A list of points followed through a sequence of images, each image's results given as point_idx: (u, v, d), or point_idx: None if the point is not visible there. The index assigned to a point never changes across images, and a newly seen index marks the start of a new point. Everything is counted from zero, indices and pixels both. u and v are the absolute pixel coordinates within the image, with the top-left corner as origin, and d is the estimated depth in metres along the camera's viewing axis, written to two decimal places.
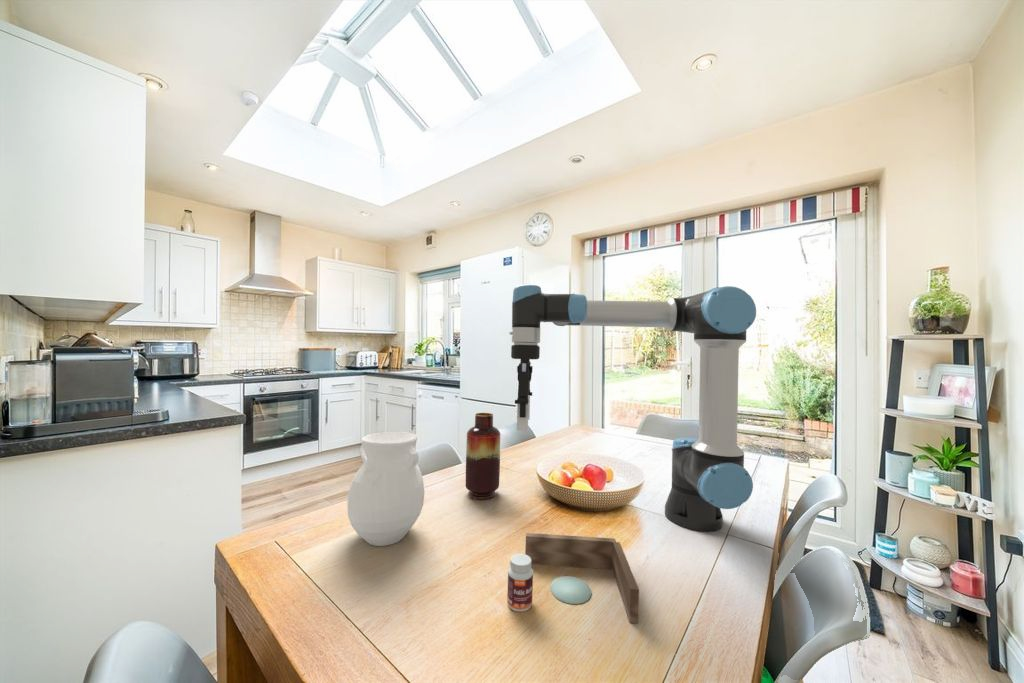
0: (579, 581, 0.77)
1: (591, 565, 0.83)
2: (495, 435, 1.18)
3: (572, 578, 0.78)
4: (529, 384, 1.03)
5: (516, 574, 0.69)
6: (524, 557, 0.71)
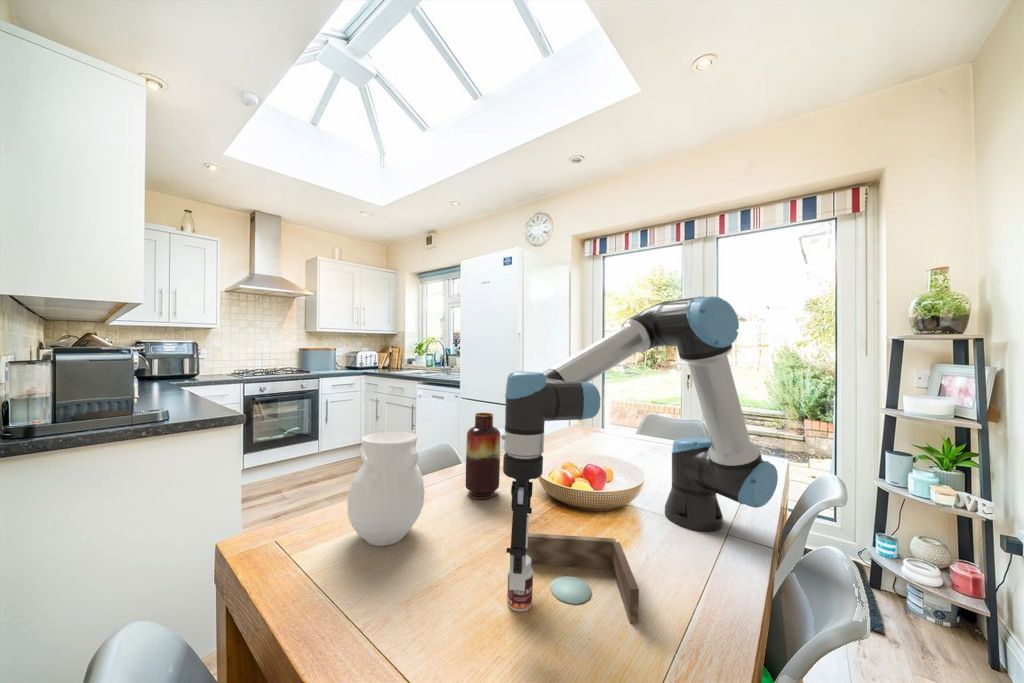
0: (579, 581, 0.77)
1: (591, 565, 0.83)
2: (495, 435, 1.18)
3: (572, 578, 0.78)
4: (528, 502, 0.75)
5: None
6: None
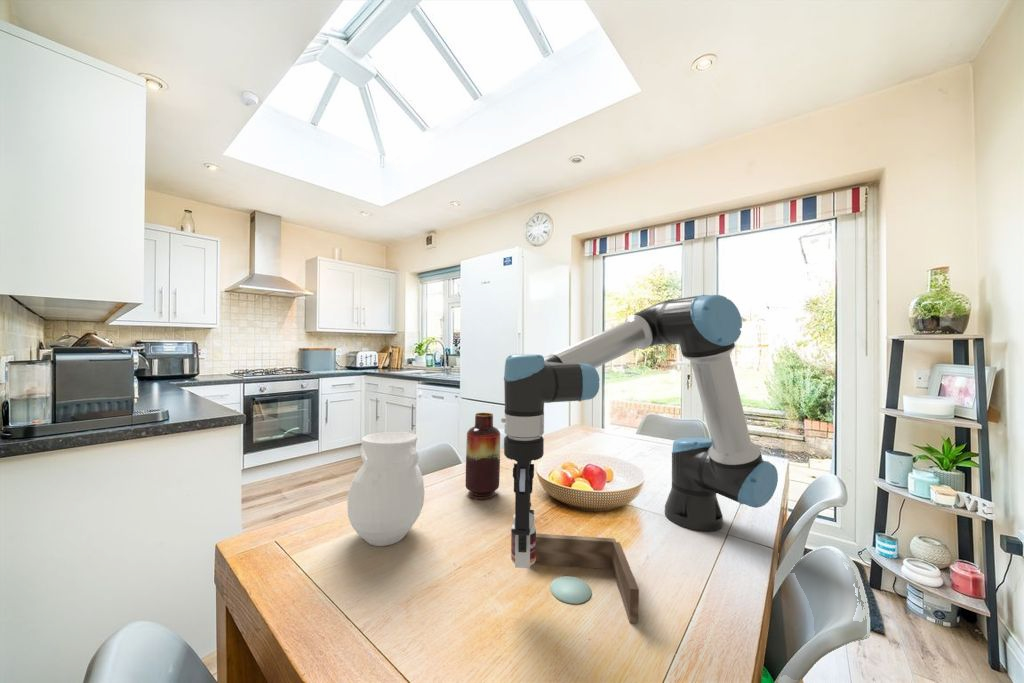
0: (579, 581, 0.77)
1: (591, 565, 0.83)
2: (495, 435, 1.18)
3: (572, 578, 0.78)
4: None
5: None
6: None
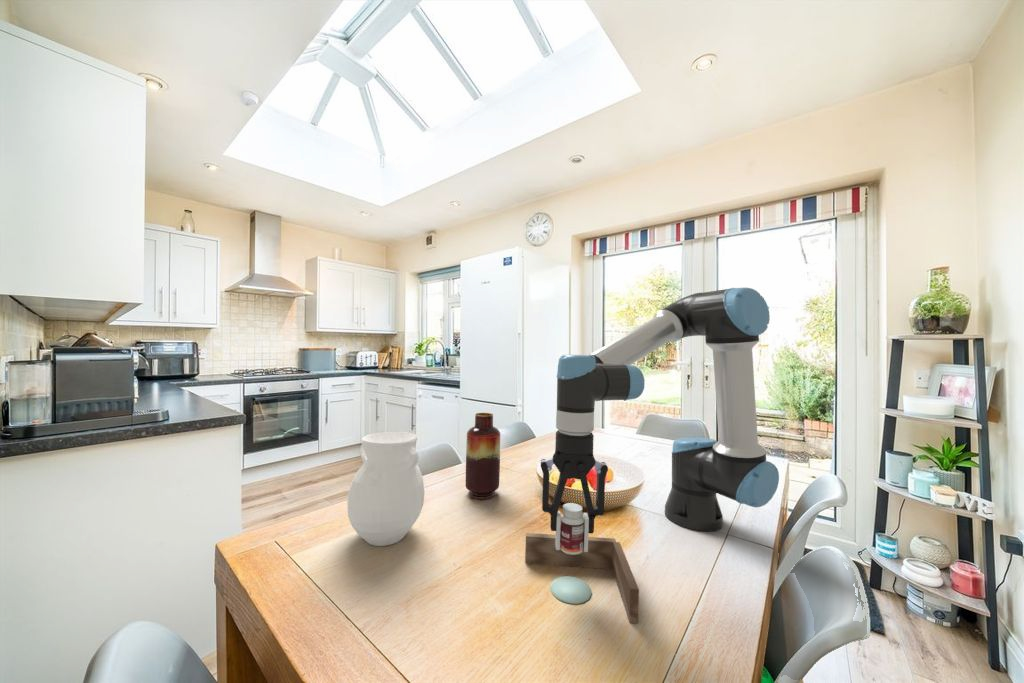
0: (579, 581, 0.77)
1: (591, 565, 0.83)
2: (495, 435, 1.18)
3: (572, 578, 0.78)
4: (584, 494, 0.74)
5: (562, 514, 0.76)
6: (576, 508, 0.74)
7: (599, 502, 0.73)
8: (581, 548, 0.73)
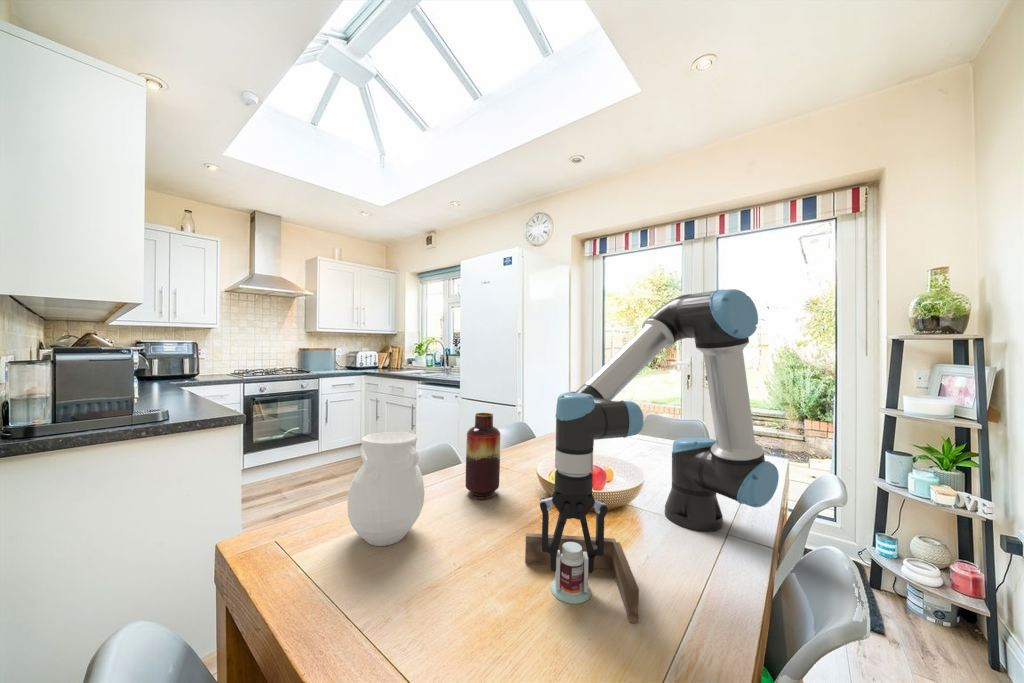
0: None
1: None
2: (495, 435, 1.18)
3: None
4: (583, 534, 0.74)
5: (562, 553, 0.76)
6: (576, 548, 0.74)
7: (599, 542, 0.73)
8: (581, 589, 0.73)
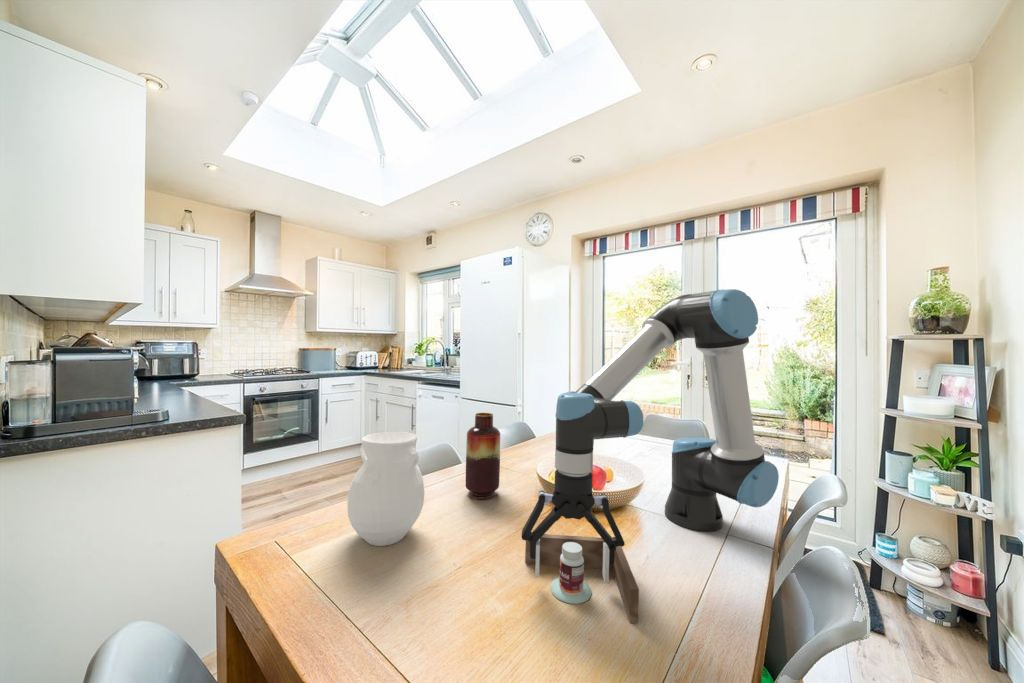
0: None
1: (591, 565, 0.83)
2: (495, 435, 1.18)
3: None
4: None
5: (562, 553, 0.76)
6: (576, 548, 0.74)
7: (615, 534, 0.73)
8: (581, 589, 0.73)
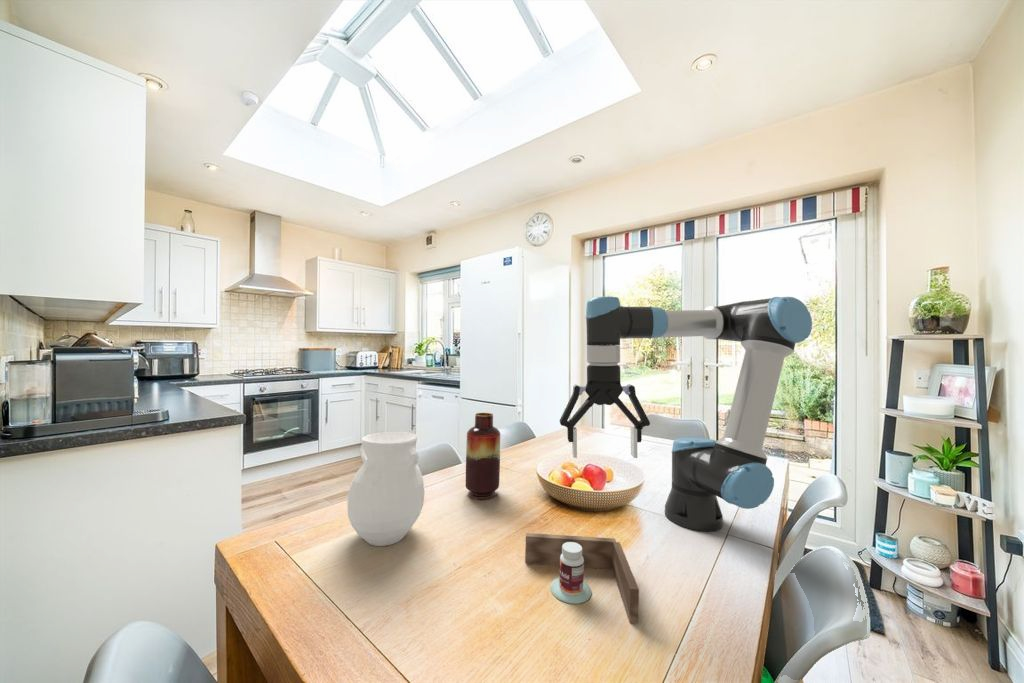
0: None
1: (591, 565, 0.83)
2: (495, 435, 1.18)
3: None
4: (624, 413, 0.85)
5: (562, 553, 0.76)
6: (576, 548, 0.74)
7: (642, 416, 0.85)
8: (581, 589, 0.73)
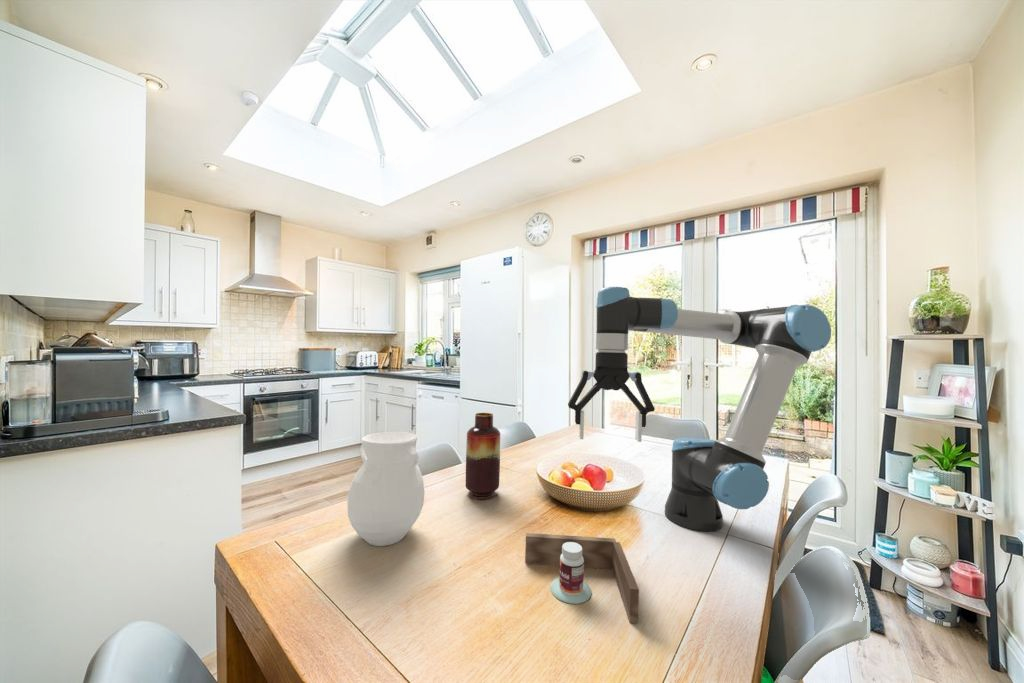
0: None
1: (591, 565, 0.83)
2: (495, 435, 1.18)
3: None
4: (630, 398, 0.89)
5: (562, 553, 0.76)
6: (576, 549, 0.74)
7: (647, 402, 0.89)
8: (581, 589, 0.73)
